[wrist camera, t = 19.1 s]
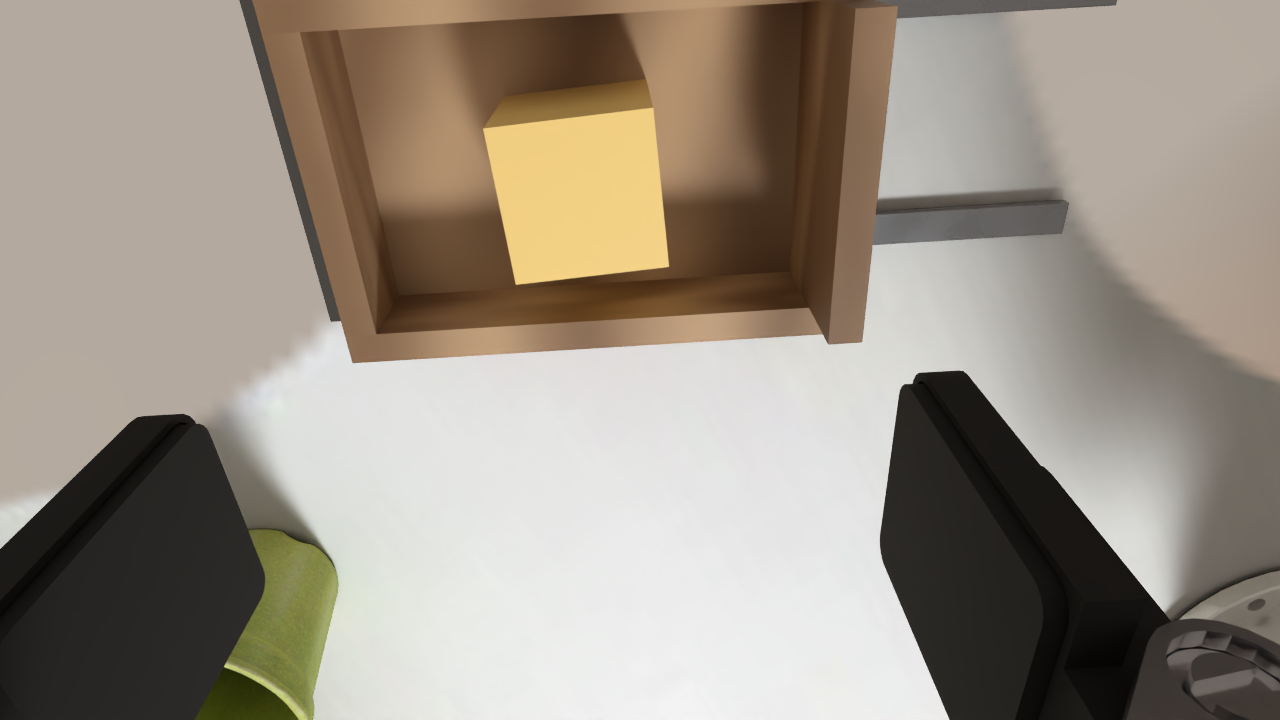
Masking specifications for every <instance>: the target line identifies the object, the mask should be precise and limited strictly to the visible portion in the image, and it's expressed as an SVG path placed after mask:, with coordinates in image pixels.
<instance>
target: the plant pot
mask: <svg viewBox="0 0 1280 720" xmlns="http://www.w3.org/2000/svg"><path fill="white" fill-rule="evenodd" d="M248 531H249V534H250V536H251V539H252V541H253V544H254V547H255V549H256V552H257V554H258V557H259V559H260V562H261V564H262V567H263V569H264V573H265V588H264V592H263V595H262V598H261V600H260V602H259V604H258V605H257V607H256V609H255V611H254V613H253V615H252V616H251V618H250V620H249V622H248V624H247V625H246V627H245V629H244V631H243V633H242V635H241V636H240V638H239V640H238V642H237V644H236V645H235V647H234V649H233V651H232V653H231V655H230V656H229V658H228V660H227V662H226V664H225V666H224V667H223V669H222V671H221V673H220V675H219V676H218V678H217V680H216V682H215V684H214V686H213V687H212V689H211V691H210V693H209V695H208V696H207V698H206V700H205V702H204V704H203V706H202V707H201V709H200V711H199V713H198V715H197V716H196V718H195V720H313V716H314V702H313V693H314V689H315V684H316V680H317V676H318V672H319V667H320V663H321V659H322V655H323V650H324V646H325V642H326V638H327V634H328V630H329V626H330V622H331V618H332V613H333V609H334V605H335V601H336V597H337V593H338V578H337V574H336V571H335V568H334V566H333V565H332V563H331V562H330V560H329V559H328V558H327V556H326V555H325V554H324V553H323V552H322V551H321V550H319V549H318V548H317V547H316V546H314V545H312V544H305V543H302V542H299V541H297V540H295V539H293V538H291V537H289V536H287V535H286V534H285V533H284V532H281V531H277V530H269V529H254V530H248Z"/></svg>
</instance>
